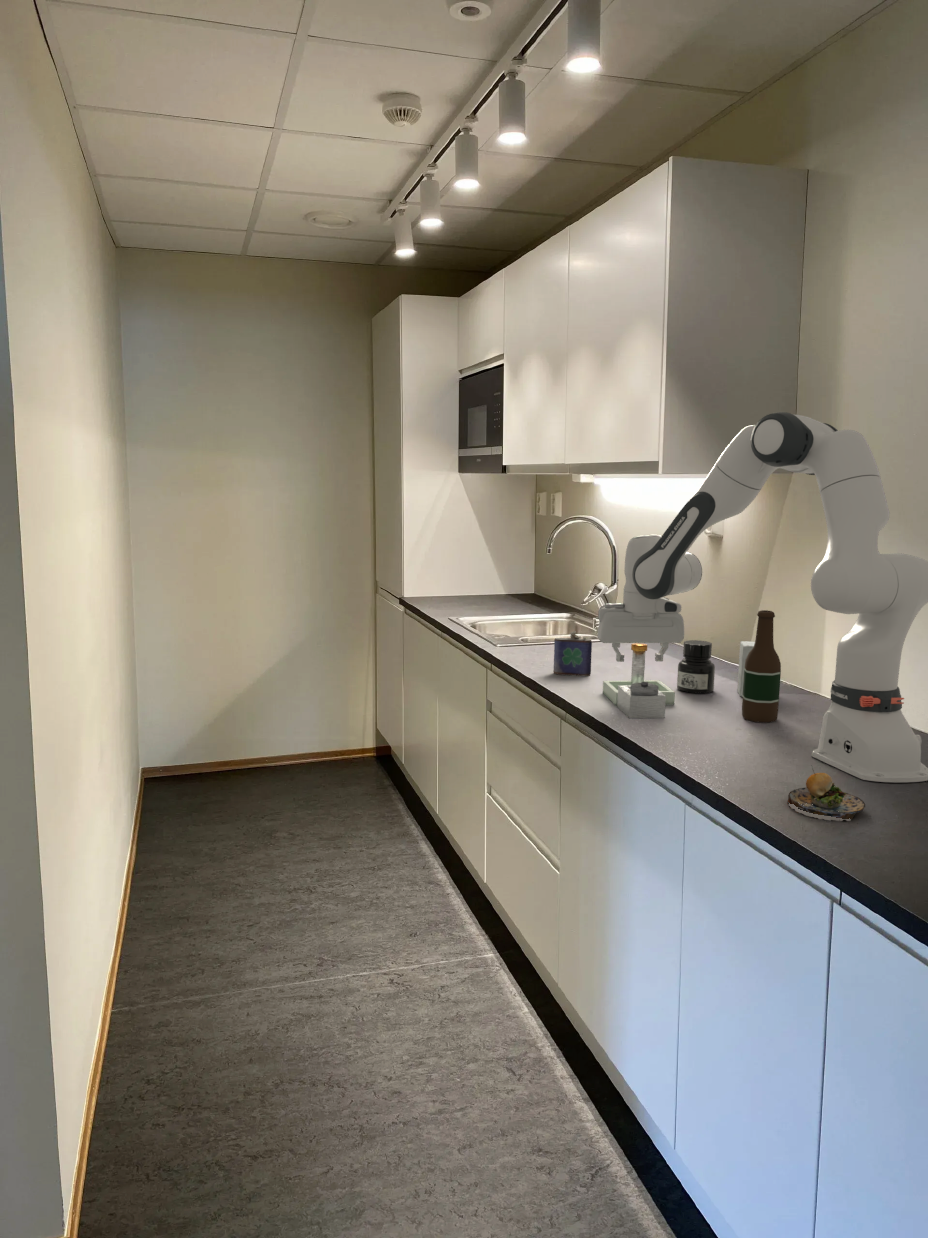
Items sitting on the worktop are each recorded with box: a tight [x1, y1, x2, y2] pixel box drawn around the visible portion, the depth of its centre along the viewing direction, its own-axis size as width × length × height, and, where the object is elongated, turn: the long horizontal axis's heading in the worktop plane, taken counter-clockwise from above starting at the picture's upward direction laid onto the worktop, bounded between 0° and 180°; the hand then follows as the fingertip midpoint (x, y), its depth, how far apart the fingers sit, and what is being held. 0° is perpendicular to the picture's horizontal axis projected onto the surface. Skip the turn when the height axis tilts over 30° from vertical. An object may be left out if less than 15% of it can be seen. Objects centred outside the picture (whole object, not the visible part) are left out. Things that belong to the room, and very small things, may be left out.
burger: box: [787, 765, 866, 820], centre depth 151 cm, size 12×12×8 cm
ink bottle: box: [676, 639, 716, 694], centre depth 231 cm, size 10×9×12 cm
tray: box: [602, 679, 676, 706], centre depth 222 cm, size 12×14×3 cm
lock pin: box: [630, 643, 648, 684], centre depth 222 cm, size 4×4×12 cm
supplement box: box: [736, 640, 755, 698], centre depth 227 cm, size 7×7×13 cm
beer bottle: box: [741, 609, 782, 724], centre depth 204 cm, size 8×8×24 cm
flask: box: [553, 630, 593, 677], centre depth 247 cm, size 10×3×12 cm, turn 79°
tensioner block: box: [616, 682, 666, 719], centre depth 209 cm, size 10×8×7 cm
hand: (639, 661), depth 221 cm, fingers open, 8 cm apart
